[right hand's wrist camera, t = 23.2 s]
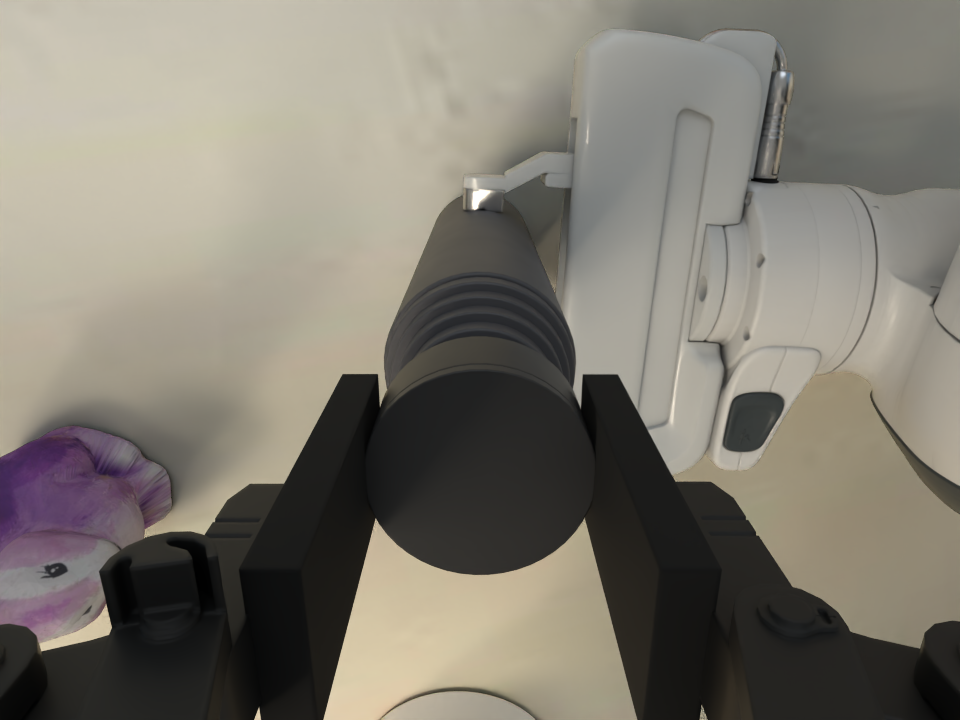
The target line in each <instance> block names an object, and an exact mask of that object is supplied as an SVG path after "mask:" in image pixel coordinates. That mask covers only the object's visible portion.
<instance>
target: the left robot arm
mask: <svg viewBox="0 0 960 720" xmlns="http://www.w3.org/2000/svg"><path fill="white" fill-rule="evenodd" d="M774 57H775V59H776V64H777V71H772V68H773V62H774ZM793 91H794V72H793V71H787V59H786V54H785V51H784V49H783V47H782V46H781V44H780V43H779V41H778V40H777V39H776V38H775V37H773V36H772V35H770V34H769V33H767V32H764V31H761V30H753V29H731V28H724V29H718V30H715V31H712V32H710V33H708V34H706V35H705V36H703V37H702V38H701V39H699V40H698V41H696V40H691V39H687V38H682V37H677V36H672V35H666V34H660V33H654V32H647V31H638V30H628V29H606V30H603V31H601V32H599V33H597V34H596V35H594V36H593V37H592V38H590V39H589V40H588V41H587V42H586V43H585V44H584V45H583V46H582V47H581V48H580V49H579V51H578V52H577V54H576V56H575V62H574V74H573V86H572V98H571V110H570V122H569V134H568V147H567V152H540V153H538V154H537V155H535V156H533V157H531V158H529V159H527V160H525V161H524V162H522V163H520V164H518V165H516V166H514V167H513V168H511V169H509V170H507V171H505V172H504V175H492V174H464V184H463V210H467V211H477V210H480V209H482V208H484V209H485V210H486V211H491V212H503V200H504V193H507V192H509V191H511V190H513V189H515V188H517V187H519V186H521V185H523V184H525V183H527V182H529V181H530V180H532V179H534V178H536V177H538V176H540V175H541V181H542V182H543V183H544V184H545V185H546V186H547V187H553V188H564V195H563V207H562V219H561V232H560V244H559V256H558V268H557V280H556V292H555V295H556V298H557V300H558V302H559V305H560V307H561V310H562V312H563V314H564V317H565V319H566V321H567V324H568V326H569V329H570V331H571V334H572V337H573V341H574V346H575V352H576V370H575V380H574V386H573V391H574V393H575V396H576V398H577V400H578V403H579V406H580V409H581V395H582V378H583V374H618V375H619V377H620V379H621V381H622V383H623V385H624V387H625V389H626V390H627V392H628V394H629V396H630V398H631V400H632V402H633V404H634V405H635V407H636V409H637V411H638V413H639V415H640V417H641V418H642V420H643V422H644V424H645V426H646V428H647V430H648V432H649V433H650V435H651V437H652V439H653V441H654V443H655V445H656V447H657V448H658V450H659V452H660V454H661V456H662V458H663V460H664V462H665V463H666V465H667V467H668V469H669V471H670V473H671V475H675V474H678V473H681V472H684V471H686V470H688V469H690V468H691V467H693V466H694V465H695V464H696V463H698V461H699V460H700V459H701V458H702V457H703V455H704V454H705V455H706V456H707V457H708V458H709V459H710V460H711V461H712V462H713V463H714V464H715V465H716V466H717V467H718V468H720V469H723V470H729V471H744V470H748V469H750V468H752V467H753V466H754V465H755V464H756V463H757V462H758V461H759V460H760V458H761V456H762V455H763V453H764V452H765V450H766V448H767V446H768V444H769V443H770V441H771V439H772V437H773V436H774V434H775V432H776V431H777V429H778V427H779V426H780V424H781V422H782V421H783V419H784V417H785V416H786V414H787V413H788V411H789V409H790V408H791V406H792V405H793V403H794V402H795V400H796V399H797V397H798V396H799V394H800V393H801V392H802V390H803V389H804V388H805V386H806V385H807V384H808V382H809V381H810V380H811V378H812V377H813V375H824V374H830V373H837V372H848V373H853V374H856V375H858V376H860V377H862V378H864V379H865V380H867V381H868V382H869V384H870V385H871V387H872V391H871V393H870V398H871V401H872V403H873V405H874V407H875V409H876V411H877V413H878V415H879V416H880V418H881V420H882V422H883V423H884V425H885V426H886V428H887V430H888V431H889V433H890V434H891V436H892V438H893V439H894V441H895V442H896V444H897V445H898V447H899V448H900V450H901V451H902V452H903V454H904V455H905V457H906V459H907V460H908V462H909V463H910V465H911V466H912V468H913V469H914V470H915V472H916V473H917V475H918V476H919V477H920V479H921V480H922V481H923V482H924V483H925V485H926V486H927V487H928V488H929V489H930V490H931V491H932V492H933V493H934V494H935V495H936V496H937V497H938V498H939V499H940V500H942V501H943V502H944V503H945V504H946V505H947V506H949V507H950V508H951V509H953V510H954V511H956V512H957V513H959V514H960V189H943V188H927V189H919V190H914V191H910V192H906V193H903V194H898V195H881V194H876V193H873V192H870V191H867V190H865V189H862V188H859V187H856V186H851V185H845V184H824V183H799V182H782V181H778V180H777V176H778V172H779V166H780V160H781V154H782V149H783V142H784V137H783V136H784V129H785V124H784V122H785V121H786V117H785V116H786V115H787V109H788V105H790V103H791V100H792V96H793ZM748 179H751V181H748ZM381 720H536V719H535V718H534V717H532V716H531V715H530V714H529V713H527V712H526V711H525V710H523V709H522V708H520V707H518V706H517V705H515V704H513V703H511V702H508V701H506V700H504V699H501V698H498V697H495V696H491V695H487V694H483V693H477V692H467V691H448V692H439V693H433V694H428V695H424V696H421V697H418V698H415V699H412V700H410V701H408V702H405V703H403V704H401V705H400V706H398V707H396V708H395V709H393V710H392V711H390V712H389V713H388V714H386V715H385V716H384V717H383V718H382V719H381Z"/></svg>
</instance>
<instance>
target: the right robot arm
mask: <svg viewBox="0 0 960 720" xmlns="http://www.w3.org/2000/svg"><path fill="white" fill-rule="evenodd" d="M379 409H380V402H379V385H378V374H343V375H342V377H341V378H340V380H339V382H338V384H337V386H336V388H335V390H334V392H333V393H332V395H331V397H330V399H329V401H328V403H327V405H326V407H325V408H324V410H323V412H322V414H321V416H320V418H319V420H318V422H317V423H316V425H315V427H314V429H313V431H312V433H311V435H310V437H309V438H308V440H307V442H306V444H305V446H304V448H303V450H302V452H301V453H300V455H299V457H298V459H297V461H296V463H295V465H294V466H293V468H292V470H291V472H290V474H289V476H288V478H287V480H286V481H285V483H284V484H249V485H248V486H246V487H245V488H244V489H242V490H241V491H239V492H238V493H237V494H235V495H234V496H232V497H231V498H230V499H228V500H227V502H226V503H225V505H224V506H223V508H222V509H221V511H220V512H219V514H218V515H217V517H216V518H215V522H213V523H212V524H211V526H210V528H209V529H208V531H207V532H206V534H205V535H202V534H198V533H194V532H168V533H163V534H159V535H154V536H150V537H147V538H144V539H142V540H140V541H137V542H135V543H132V544H130V545H128V546H126V547H125V548H123V549H122V550H120V551H119V552H117V553H116V554H114V555H113V556H111V557H110V558H109V559H108V560H107V562H106V563H105V564H104V565H103V567H102V568H101V569H100V570H99V575H100V579H101V583H102V587H103V591H104V596H105V600H106V604H107V608H108V613H109V617H110V621H111V625H112V629H111V632H110V634H109V635H108V636H104V637H101V638H97V639H94V640H91V641H86V642H82V643H77V644H73V645H68V646H64V647H59V648H55V649H51V650H46V651H42V652H41V649H40V646H39V642H38V639H37V635H35V634H34V633H33V632H32V631H31V630H30V629H29V628H28V627H25V626H20V625H14V624H1V625H0V720H254V719H255V716H256V713H257V711H258V708H260V715H261V720H323V719H324V715H325V711H326V707H327V703H328V699H329V695H330V692H331V688H332V684H333V680H334V676H335V672H336V669H337V665H338V661H339V657H340V653H341V649H342V645H343V642H344V638H345V634H346V630H347V626H348V622H349V619H350V615H351V611H352V607H353V603H354V599H355V595H356V592H357V588H358V584H359V580H360V576H361V572H362V568H363V565H364V561H365V557H366V553H367V549H368V545H369V542H370V538H371V534H372V530H373V526H374V522H375V518H376V517H375V515H374V514H373V512H372V510H371V507H370V504H369V502H368V496H367V482H366V467H365V452H366V448H367V444H368V441H369V438H370V435H371V432H372V430H373V427H374V424H375V421H376V418H377V415H378V412H379ZM581 412H582V414H583V417H584V420H585V423H586V426H587V429H588V432H589V435H590V438H591V441H592V444H593V448H594V452H595V456H596V460H595V476H594V491H593V499H592V502H591V505H590V508H589V510H588V512H587V514H586V516H585V520H586V524H587V528H588V532H589V536H590V539H591V543H592V547H593V551H594V555H595V559H596V562H597V566H598V570H599V574H600V578H601V582H602V586H603V589H604V593H605V597H606V601H607V605H608V609H609V612H610V616H611V620H612V624H613V628H614V632H615V636H616V639H617V643H618V647H619V651H620V655H621V659H622V662H623V666H624V670H625V674H626V678H627V682H628V686H629V689H630V693H631V697H632V701H633V705H634V709H635V712H636V716H637V720H699V719H700V712H701V705H702V706H703V708H704V711H705V714H706V716H707V719H708V720H960V622H959V621H948V622H943V623H937V624H934V625H933V626H932V627H931V628H930V629H929V630H927V631H926V632H925V634H924V638H923V641H922V645H921V648H920V649H918V648H914V647H909V646H905V645H900V644H896V643H891V642H887V641H883V640H878V639H874V638H870V637H866V636H863V635H859V634H856V633H852V632H850V631H849V628H848V626H847V625H846V623H845V622H844V620H843V619H842V617H841V616H840V614H839V613H838V612H837V611H836V610H835V609H833V608H832V607H831V606H829V605H828V604H827V603H826V602H824V601H823V600H822V599H820V598H818V597H816V596H814V595H812V594H810V593H807V592H805V591H803V590H801V589H797V588H793V587H792V586H791V584H790V583H789V581H788V579H787V578H786V576H785V575H784V573H783V572H782V570H781V569H780V567H779V566H778V564H777V563H776V561H775V560H774V558H773V557H772V555H771V554H770V552H769V551H768V549H767V548H766V546H765V545H764V543H763V542H762V540H761V539H760V537H759V536H756V531H755V530H754V528H753V527H752V525H751V524H750V522H749V521H748V520H746V516H745V515H744V513H743V512H742V510H741V509H740V507H739V506H738V504H737V503H736V501H735V500H734V498H733V497H731V496H730V495H729V494H727V493H726V492H724V491H723V490H722V489H720V488H719V487H717V486H716V485H715V484H713V483H712V482H675V480H674V478H673V477H672V475H671V473H670V471H669V469H668V467H667V465H666V463H665V462H664V460H663V458H662V456H661V454H660V452H659V450H658V448H657V447H656V445H655V443H654V441H653V439H652V437H651V435H650V433H649V432H648V430H647V428H646V426H645V424H644V422H643V420H642V418H641V417H640V415H639V413H638V411H637V409H636V407H635V405H634V404H633V402H632V400H631V398H630V396H629V394H628V392H627V390H626V389H625V387H624V385H623V383H622V381H621V379H620V377H619V375H618V374H583V378H582V395H581Z"/></svg>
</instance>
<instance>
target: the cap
mask: <svg viewBox="0 0 960 720" xmlns="http://www.w3.org/2000/svg"><path fill="white" fill-rule="evenodd" d="M595 460H596V456H595V452H594V448H593V444H592V441H591V438H590V435H589V432H588V429H587V426H586V423H585V420H584V417H583V414H582V412H581V409H580V406H579V403H578V400H577V398H576V396H575V393H574V391H573V389H572V387H571V386H570V384H569V382H568V381H567V379H566V378H565V377H564V375H563V374H562V373H561V372H560V370H559V369H558V368H557V367H556V366H555V365H554V364H552V363H551V362H550V361H549V360H548V359H547V358H545V357H544V356H542V355H541V354H540V353H538V352H536V351H534V350H533V349H531V348H529V347H527V346H525V345H522V344H519V343H517V342H514V341H510V340H506V339H502V338H496V337H487V336H475V337H465V338H458V339H454V340H450V341H446V342H443V343H441V344H438V345H436V346H433V347H431V348H429V349H428V350H426V351H424V352H422V353H421V354H419V355H418V356H416V357H415V358H414V359H412V360H411V361H410V362H409V363H408V364H407V365H406V366H405V367H404V368H403V369H402V370H401V371H400V372H399V373H398V374H397V375H396V377H395V378H394V379H393V381H392V382H391V384H390V386H389V388H388V389H387V391H386V393H385V396H384V398H383V401H382V404H381V406H380V409H379V412H378V415H377V418H376V421H375V424H374V427H373V430H372V432H371V435H370V438H369V441H368V444H367V448H366V452H365V467H366V482H367V496H368V502H369V504H370V507H371V510H372V512H373V514H374V515H375V517H376V519H377V521H378V523H379V524H380V526H381V527H382V528H383V529H384V531H385V532H386V533H387V535H388V536H389V537H390V538H391V539H392V540H393V541H394V542H395V543H396V544H397V545H398V546H400V547H401V548H402V549H404V550H405V551H406V552H407V553H409V554H410V555H412V556H414V557H415V558H417V559H419V560H421V561H423V562H425V563H427V564H429V565H431V566H434V567H437V568H440V569H443V570H446V571H451V572H456V573H461V574H471V575H490V574H498V573H505V572H509V571H513V570H517V569H520V568H523V567H526V566H529V565H531V564H533V563H535V562H537V561H539V560H541V559H543V558H545V557H546V556H548V555H550V554H551V553H553V552H554V551H555V550H557V549H558V548H559V547H560V546H562V545H563V544H564V543H565V542H566V541H567V540H568V539H569V538H570V537H571V536H572V535H573V534H574V533H575V531H576V530H577V528H578V527H579V526H580V524H581V523H582V521H583V519H584V518H585V516H586V514H587V512H588V510H589V508H590V505H591V502H592V499H593V491H594V476H595Z"/></svg>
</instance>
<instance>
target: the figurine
mask: <svg viewBox="0 0 960 720" xmlns="http://www.w3.org/2000/svg"><path fill="white" fill-rule="evenodd" d="M170 482H171V481H170V479H169V475H168V474H167V472H166V470H165V469H164V468H163V467H162V466H161V465H159V464H156V463H154V462H153V461H150V460H147V459H146V458H145V457H144V456H143V455H142V454H141V451H140V450H139V449H138V447H136V446H135V445H134V444H132V443H131V442H130V441H126V440H124V439H123V438H120V437H117V436H113V435H111V434H107V433H104V432H101V431H98V430H95V429H89V428H82V427H80V426H73V425H72V426H67V427H62V428H58V429H55V430H53V431H51V432H49V433H47V434H45V435H44V436H42V437H41V438H39V439H37V440H34V441H32V442H29V443H27V444H25V445H23V446H21V447H20V448H18V449H16V450H15V451H13V452H11V453H8V454H6V455H4V456H2V457H0V625H1V624H14V625H20V626H25V627H28V628H29V629H30V630H31V631H32V632H33V633H34V634H35V635H37V639H38V642H39V643H42V642H45V641H48V640H52V639H55V638H58V637H61V636H64V635H67V634H70V633H73V632H76V631H78V630H80V629H82V628H84V627H85V626H87V625H88V624H90V623H91V622H93V621H94V620H95V619H96V618H97V617H98V616H99V615H100V613H101V612H102V610H103V609H104V607H105V604H106V600H105V596H104V591H103V587H102V583H101V579H100V575H99V570H100V569H101V568H102V567H103V565H104V564H105V563H106V562H107V560H108V559H109V558H110V557H111V556H113V555H114V554H116V553H117V552H119V551H120V550H122V549H123V548H125V547H126V546H128V545H130V544H132V543H135V542H137V541H140V540H142V539H144V533H145V529H146V528H148V527H149V526H151V525H153V524H155V523H156V522H158V521H160V520H162V519H163V518H164V517H165V516H166V515H167V514H168V512H170V508H171V507H172V506H171V505H172V502H171V501H172V499H171V496H172V495H171V494H170V493H171V491H170V490H171V487H170V486H171V484H170Z"/></svg>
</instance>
